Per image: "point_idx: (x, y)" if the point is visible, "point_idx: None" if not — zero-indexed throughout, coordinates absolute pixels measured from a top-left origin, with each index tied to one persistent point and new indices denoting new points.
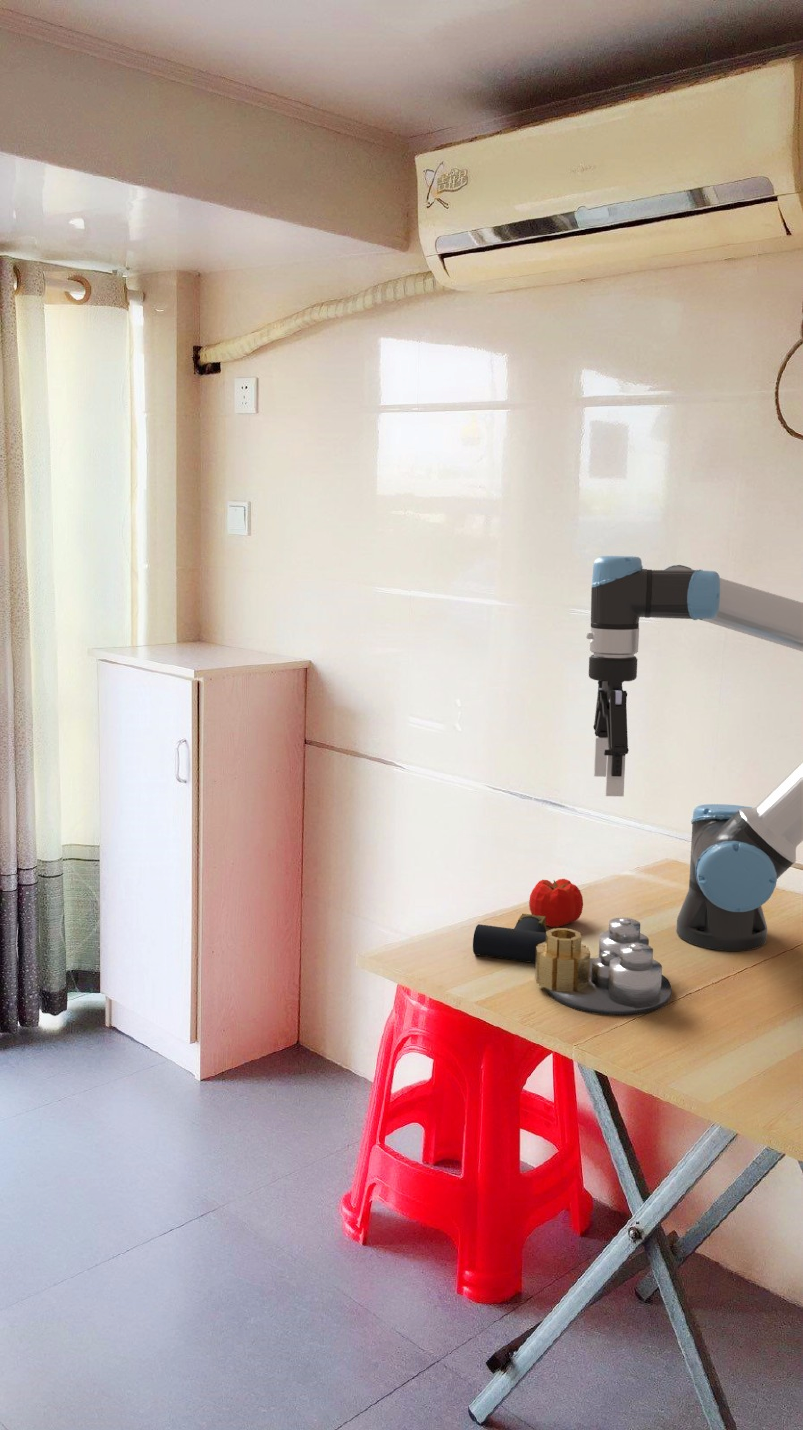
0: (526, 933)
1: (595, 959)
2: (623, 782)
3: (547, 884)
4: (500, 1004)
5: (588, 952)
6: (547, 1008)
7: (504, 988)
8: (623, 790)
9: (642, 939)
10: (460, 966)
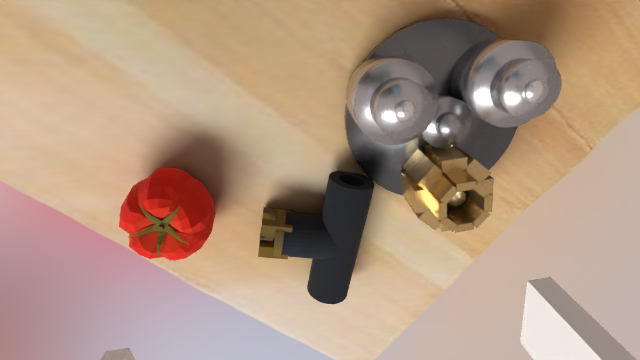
0: (348, 243)
1: (432, 143)
2: (607, 334)
3: (156, 244)
4: (480, 234)
5: (464, 160)
6: None
7: (435, 235)
8: (570, 299)
9: (399, 71)
10: (373, 287)
